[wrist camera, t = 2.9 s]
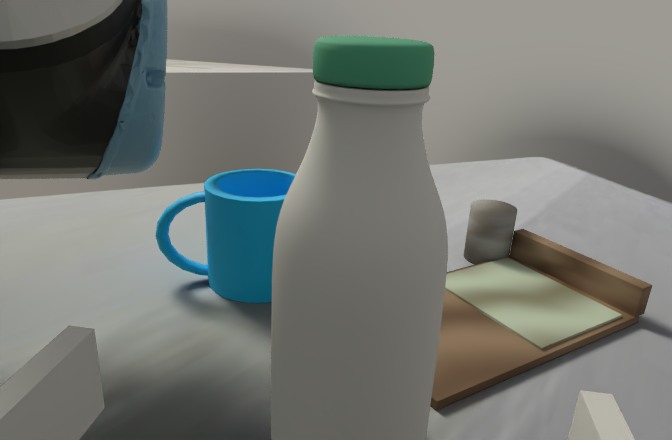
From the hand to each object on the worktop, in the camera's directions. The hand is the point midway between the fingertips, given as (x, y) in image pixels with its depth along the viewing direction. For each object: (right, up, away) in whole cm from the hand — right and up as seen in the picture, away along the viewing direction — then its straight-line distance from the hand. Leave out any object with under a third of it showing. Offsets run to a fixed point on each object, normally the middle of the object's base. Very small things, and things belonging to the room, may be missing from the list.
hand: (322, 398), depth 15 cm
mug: (-8, 0, +30) cm, 31 cm away
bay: (+11, -2, +27) cm, 29 cm away
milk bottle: (+1, -7, +13) cm, 15 cm away
